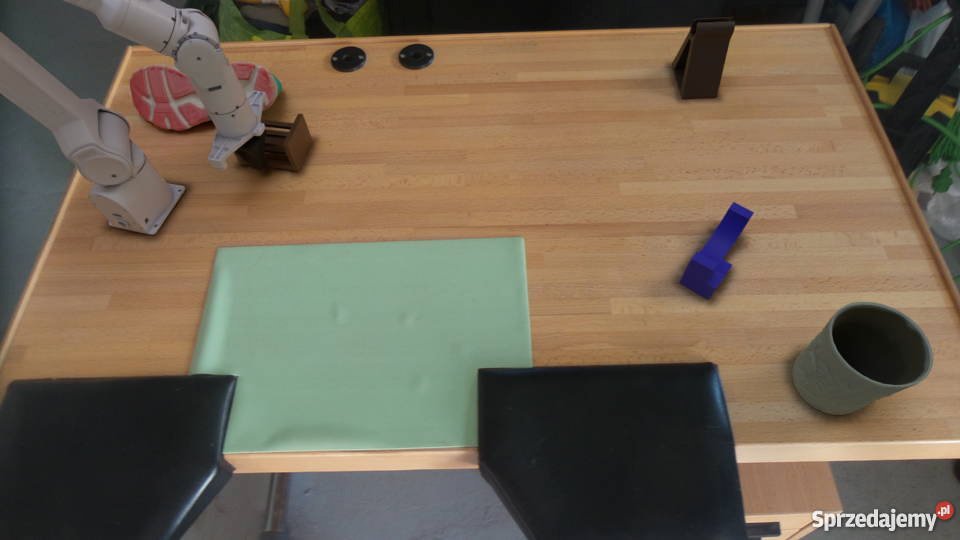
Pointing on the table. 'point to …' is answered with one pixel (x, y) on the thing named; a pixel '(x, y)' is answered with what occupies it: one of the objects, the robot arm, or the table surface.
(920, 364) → the grey plant pot
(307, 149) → the shoe rack
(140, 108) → the athletic shoe
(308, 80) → the table surface
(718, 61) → the phone stand
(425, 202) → the table surface
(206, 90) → the robot arm
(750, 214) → the blue angled block
